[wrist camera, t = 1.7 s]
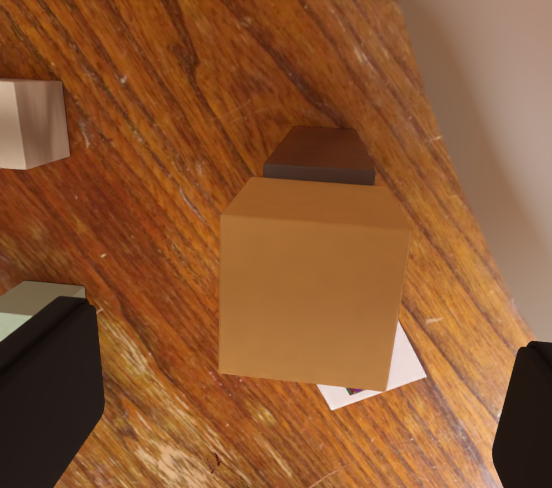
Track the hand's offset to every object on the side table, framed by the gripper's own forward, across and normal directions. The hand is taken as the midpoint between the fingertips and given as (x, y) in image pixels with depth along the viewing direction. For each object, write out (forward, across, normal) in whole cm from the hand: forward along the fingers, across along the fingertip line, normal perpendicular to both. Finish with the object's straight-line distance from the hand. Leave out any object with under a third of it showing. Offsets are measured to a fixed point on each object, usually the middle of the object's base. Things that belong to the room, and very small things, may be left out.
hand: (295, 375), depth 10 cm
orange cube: (+8, 0, 0) cm, 8 cm away
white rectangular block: (+22, -4, +14) cm, 26 cm away
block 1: (+22, +20, -3) cm, 30 cm away
